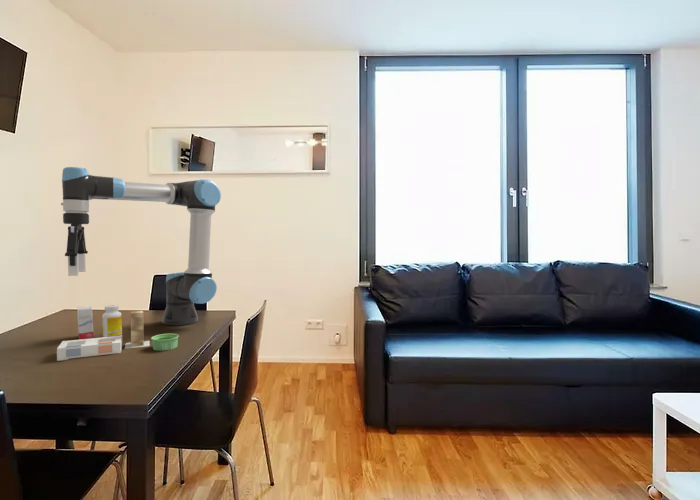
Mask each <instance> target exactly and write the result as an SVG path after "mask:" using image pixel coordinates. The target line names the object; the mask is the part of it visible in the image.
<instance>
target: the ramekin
mask: <svg viewBox="0 0 700 500" xmlns="http://www.w3.org/2000/svg"><path fill="white" fill-rule="evenodd" d="M150 339H151V343H152V350H154V351H161V352H163V351H169V350H174V349H176V348H178V343H179V342H178V341H179V334H177V333H162V334H156V335H154V336H153V335H152V336H151V337H150Z"/></svg>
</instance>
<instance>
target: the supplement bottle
mask: <svg viewBox="0 0 700 500" xmlns="http://www.w3.org/2000/svg"><path fill="white" fill-rule="evenodd" d="M119 309H120V308H119V304H118V305H117V304H110V305H105V306H104V311H105V312H104V313H102V315H101V321H102V322H101V323H102V327H101V328H102V329H101V330H102V337H113V336H122V337H123V320H122V318H123V317H122V313H121V311H119Z"/></svg>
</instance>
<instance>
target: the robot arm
mask: <svg viewBox="0 0 700 500" xmlns="http://www.w3.org/2000/svg"><path fill="white" fill-rule="evenodd" d="M61 177H62V178H61V184H62V185H61V186H62V202H61V203H60V206H62V211H63V212H64V213H63V214H62V223H63V224H65V225H68V226H67V242H66V251H65V253H64V256H65V257H67V273H68V274H67V275H68V276H69V277H71V276H74V277H77V276H78V277H79V273H85V272H86V271H87V270H86V255H87V254H89V253H88V250H87V246H86V238H85V237H86V236H85V227H84V226H83V225H89V224H90V214H89V212H90V201H91V200H108V201H109V200H110V201H111V200H114V201H132V202H133V201H134V202H135V201H136V202H157V203H158V202H159V203H165V204H166V205H174V206H175V205H176V206H182V207H186V210H187V211H188V212H189V213H190V219H189V220H190V222H189V240H188V242H189V243H188V261H187V263H188V264H187V269H185V271H184V272H172V273H168V274H167V275H166V278H165V285H166V286H165V289H166V291H165V292H166V293H165V294H166V307H165V309H164V313H163V317H162V324H163V325H166V326H184V325H191V324H195V323H198V321H199V319H198V318H199V316H198V314H197V313H198V312H197V310H196V307H195V304H202V305H203V304H206V303H209V302H210V301H211V300H212V299H213V298H214V297H215V295H216V293H217V288H218V287H217V286H218V285H217V283H216V281H215V280H214V279H213V272H212V271H211V270H210V268H209V267H210V251H211V248H210V247H211V231H212V230H211V227H212V215H213V214H214V213H215V212H216V205H218V204H219V203H220V202H221V199H222V198H221V197H222V193H221V190H220V187H219V186H218V185H217V183H215V182H214V181H212V180H210V179H196V180H188V181H182V182H166V183H165V184H158V183H144V182H143V183H142V182H133V181H132V182H131V181H124V179H122V178H117V177H114V176H113V177H109V176H100V175H99V176H98V175H93V174H89V170H88V169H87V168H84V167H77V166H67V167H63V169H62V173H61ZM69 225H70V226H69Z"/></svg>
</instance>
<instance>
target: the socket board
mask: <svg viewBox="0 0 700 500" xmlns="http://www.w3.org/2000/svg"><path fill="white" fill-rule="evenodd" d="M122 348H123V335H122V336H113V337H103V336H102V337H95V338H94V337H93V338H89V339H80V340H79V339H73V340H71V339H70V340H62V341H61V343H60V344H59V345H58V346H57V348H56V361H57V362H58V361H68V360H70V359H77V358H86V357H95V356H96V357H97V356H102V355H113V354H121V353H122Z"/></svg>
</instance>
